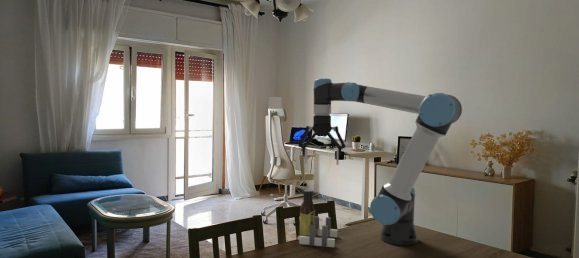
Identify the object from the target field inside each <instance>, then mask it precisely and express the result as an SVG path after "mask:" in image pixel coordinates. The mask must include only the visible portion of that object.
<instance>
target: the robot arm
mask: <svg viewBox="0 0 579 258" xmlns="http://www.w3.org/2000/svg"><path fill="white" fill-rule="evenodd" d="M332 102H355V103H361V104H365V105H371V106H377V107H382V108H386V109H391V110H396V111H402V112H407V113H411V114H417V117H416V119H415V121H414V122H415V125H416V128H415V131H414V133H413V134H412V137H411V138H410V141H409V142H408V144H407V146H406V148H405V150H404V152H403V154H402V156H401V158H400V160H399V162H398V164H397V166H396V167H395V170H394V172H393V173H392V175H391V178H390V180H389V181H387V182H384V183H383V184H382V186H381V189H380V191H379V193H378V195H376V196H375V197H373V199H372V200H371V202H370V205H369V210H370V214H371V215H372V217H373V219H374V220H375V221H377V223H379V224H381V225H382V227H381V230H380V234H379V235H380V237H379V239H381V240H382V241H383V242H385V243H388V244H391V245H394V246H395V245H397V246H411V245H416V244H417V243H418V234H417V230H416V227H415V223H414V221H415V220H414V219H415V202H416V201H415V199H416V198H415V197H416V190H415V188H414V186H415V184H416V182H417V180H418V178H419V177H420V174H421V173H422V171H423V169H424V167H425V165H426V163H427V161H428V159H429V158H430V156H431V154H432V152H433V150H434V148H435V147H436V144H437V142H438V141H439V140H440V138H442V137H445V136H446V134H447V133H448V131H449V130H450V127H451V125H452V124H455V123H456V122H457V121H458V120H459V119H460V118H461V115H462V113H463V108H462V103H461V102H460V100H459V99H458V98H457V97H456V96H454V95H452V94H447V93H444V92H435V93H431V94H430V93H429V94H427V95H421V94H416V93H410V92H403V91H397V90H391V89H386V88H378V87H375V86H374V87H373V86H367V85H362V84H357V82H351V81H350V82H349V81H348V82H335V83H333V82H332V79H331V78H316V79H315V80H314V81H313V118H312V122H313V124H312V126H310V125H307V126H305V132H303V136H302V137H301V139H300V141H299V143H298V145H297V146H298V148H301V149H302V152H301V153H302V156H303V157H304V164H305V165H307V164H308V148H307V147H308V145H309V144H310V143H311V142H312V141H313V140H314V138H315V137H316V136H317V137H320V138H321V137H323V138H324V137H328V138H329V139H330V140H331V142H332V143H333V144H334V145H335V146H336V147H337V148H336V165H337V166H338V165H339V159H340V157H342V150H343V149H346V144H345V142H344V140H343V138H342V136H341V133H340V132H339V126H337V125H336V126H332V115H331V114H332ZM311 130H312V131H313V134H312V135H311V136H310V137H309V139H308V140H307V141H306V142H305V140H306V137H307V136H308V134H309V133H310V132H311ZM332 130H333V132H335V134H336V136H337V138H338V140H339V142H340V143H338V140H336V139H335V138H334V136H333V135H332V133H331V132H332ZM304 142H305V143H304ZM340 144H341V145H340Z"/></svg>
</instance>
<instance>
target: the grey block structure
mask: <svg viewBox="0 0 579 258" xmlns="http://www.w3.org/2000/svg"><path fill="white" fill-rule="evenodd" d="M331 221H332V218H331V217H328V216H327V217H325V225H322V227H320V216H316V215H315V225H311V224H310V237H308V236H300V235H299V236H300V241H298V242H299V245H303V246H305V245H306V246H307V245H308V246H316V247H327V248H328V247H329V248H335V247H336V246H335V243H336V241H335V240H336V239H335V238H338V229H335V228H331V226H332V225H331V224H332V223H331Z"/></svg>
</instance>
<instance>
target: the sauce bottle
mask: <svg viewBox="0 0 579 258" xmlns="http://www.w3.org/2000/svg"><path fill="white" fill-rule="evenodd" d="M302 194H303V199H302V203H301V205H300V208H299V209H300V211H299V236H308V237H310V224H311V225H315V216H316V208H315V205H314V201H313V195H314V190H312V189H304V190H302Z"/></svg>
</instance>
